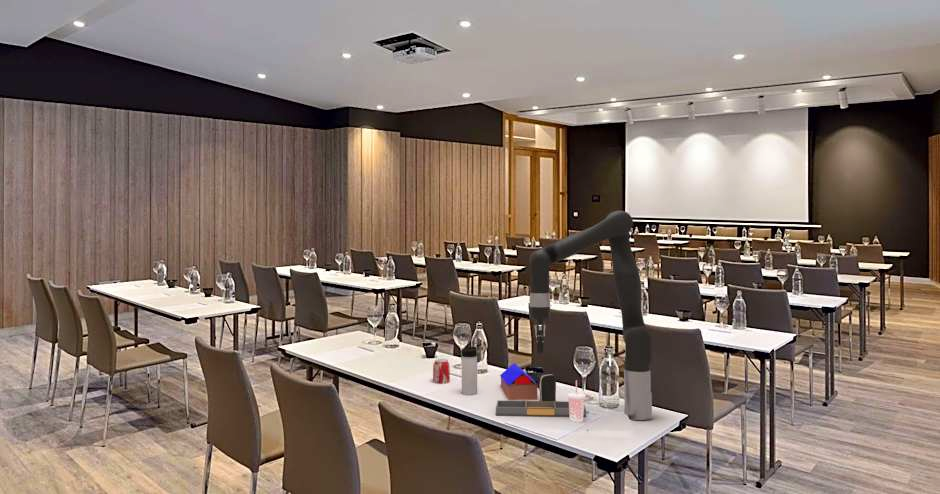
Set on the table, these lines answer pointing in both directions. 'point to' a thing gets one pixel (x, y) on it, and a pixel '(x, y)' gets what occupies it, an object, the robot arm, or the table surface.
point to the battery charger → (547, 387)
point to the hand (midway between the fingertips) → (540, 350)
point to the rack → (534, 408)
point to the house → (518, 384)
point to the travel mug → (469, 371)
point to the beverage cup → (576, 406)
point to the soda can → (441, 371)
